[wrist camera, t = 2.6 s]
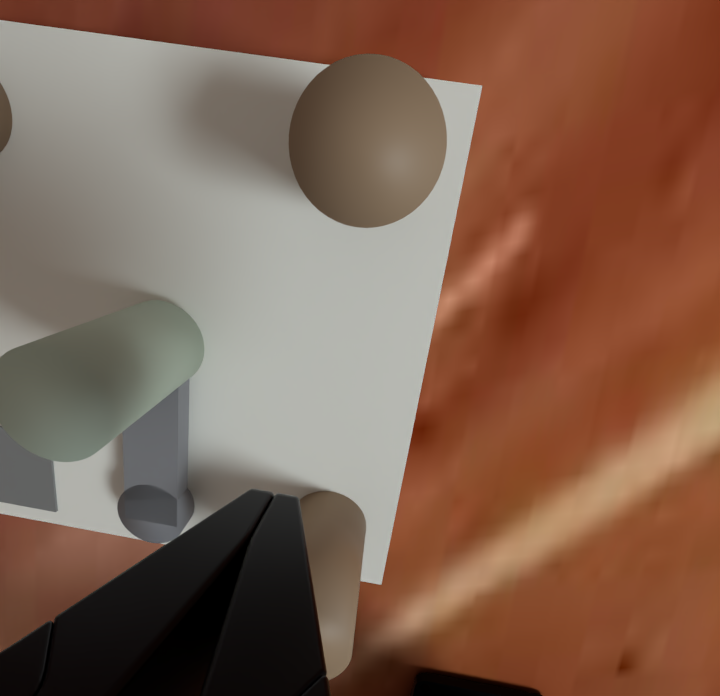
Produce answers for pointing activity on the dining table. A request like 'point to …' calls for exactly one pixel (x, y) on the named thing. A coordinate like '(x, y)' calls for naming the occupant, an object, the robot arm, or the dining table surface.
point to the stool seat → (237, 268)
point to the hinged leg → (113, 405)
